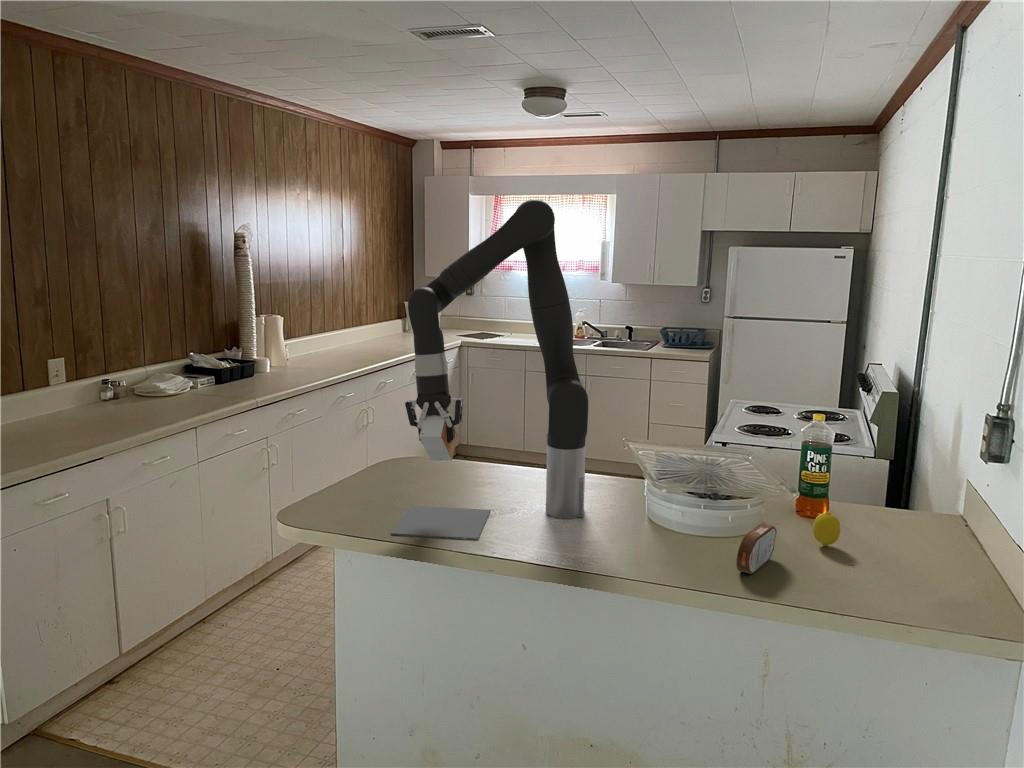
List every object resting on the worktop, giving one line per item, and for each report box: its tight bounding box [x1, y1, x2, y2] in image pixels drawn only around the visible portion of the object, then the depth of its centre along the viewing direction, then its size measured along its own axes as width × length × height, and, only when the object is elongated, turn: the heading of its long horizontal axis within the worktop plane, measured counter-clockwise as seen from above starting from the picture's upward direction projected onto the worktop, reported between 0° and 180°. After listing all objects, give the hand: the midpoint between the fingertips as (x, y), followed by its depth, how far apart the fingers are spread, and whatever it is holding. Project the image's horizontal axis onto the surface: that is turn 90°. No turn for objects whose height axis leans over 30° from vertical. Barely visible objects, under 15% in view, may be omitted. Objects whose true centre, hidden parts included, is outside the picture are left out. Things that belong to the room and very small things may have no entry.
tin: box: [735, 521, 777, 575], centre depth 156 cm, size 15×3×8 cm, turn 141°
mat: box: [390, 505, 491, 540], centre depth 179 cm, size 20×18×1 cm
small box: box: [418, 409, 459, 462], centre depth 183 cm, size 8×6×10 cm
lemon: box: [812, 511, 841, 547], centre depth 166 cm, size 6×6×8 cm
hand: (437, 442), depth 181 cm, fingers closed on small box, 6 cm apart
